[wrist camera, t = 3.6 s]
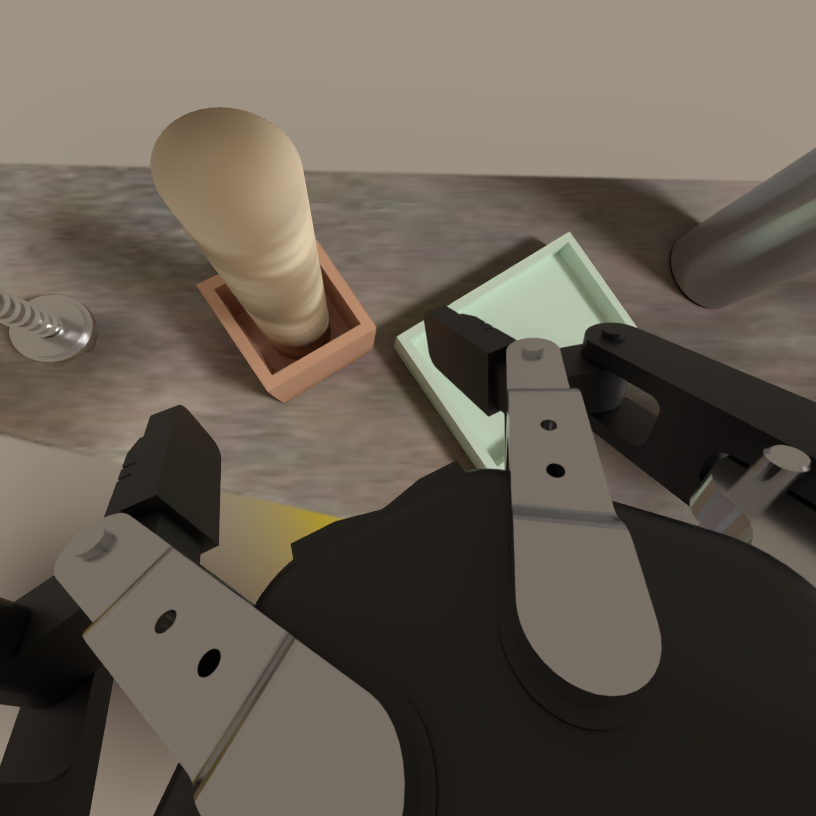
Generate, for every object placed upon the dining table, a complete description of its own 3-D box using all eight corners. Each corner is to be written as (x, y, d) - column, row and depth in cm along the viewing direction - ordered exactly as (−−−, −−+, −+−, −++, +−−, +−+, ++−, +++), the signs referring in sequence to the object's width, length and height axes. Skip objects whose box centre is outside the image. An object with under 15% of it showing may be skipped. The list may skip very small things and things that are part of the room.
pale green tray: (553, 248, 32) (569, 231, 30) (632, 361, 32) (655, 353, 29) (392, 346, 28) (396, 336, 25) (483, 478, 28) (495, 481, 25)
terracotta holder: (317, 269, 28) (309, 229, 23) (372, 350, 27) (376, 327, 23) (225, 316, 26) (196, 284, 21) (283, 403, 26) (267, 391, 21)
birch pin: (309, 291, 26) (255, 89, 12) (343, 340, 26) (330, 197, 12) (255, 319, 25) (120, 137, 11) (289, 371, 25) (201, 257, 11)
